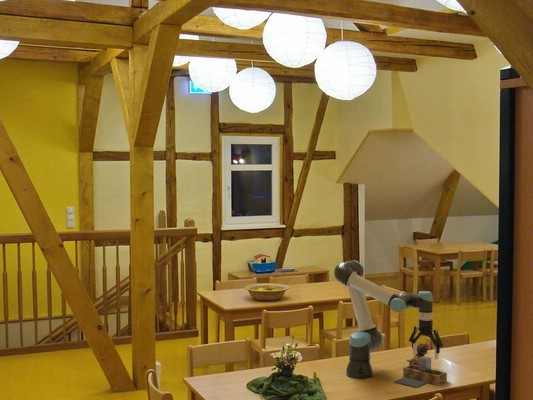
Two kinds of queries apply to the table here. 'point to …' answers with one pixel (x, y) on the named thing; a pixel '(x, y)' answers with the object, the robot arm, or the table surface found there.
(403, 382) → the rubber mat
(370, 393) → the table surface
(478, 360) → the table surface
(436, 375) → the channel
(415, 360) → the figurine
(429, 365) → the metal block
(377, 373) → the table surface
